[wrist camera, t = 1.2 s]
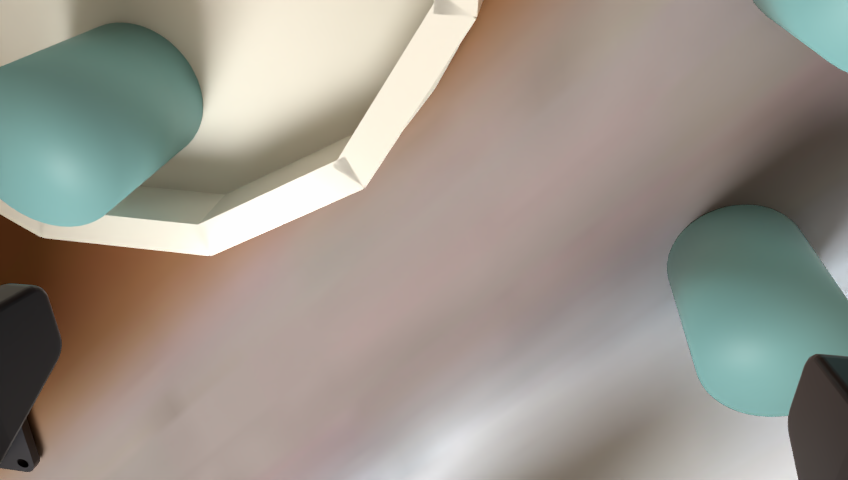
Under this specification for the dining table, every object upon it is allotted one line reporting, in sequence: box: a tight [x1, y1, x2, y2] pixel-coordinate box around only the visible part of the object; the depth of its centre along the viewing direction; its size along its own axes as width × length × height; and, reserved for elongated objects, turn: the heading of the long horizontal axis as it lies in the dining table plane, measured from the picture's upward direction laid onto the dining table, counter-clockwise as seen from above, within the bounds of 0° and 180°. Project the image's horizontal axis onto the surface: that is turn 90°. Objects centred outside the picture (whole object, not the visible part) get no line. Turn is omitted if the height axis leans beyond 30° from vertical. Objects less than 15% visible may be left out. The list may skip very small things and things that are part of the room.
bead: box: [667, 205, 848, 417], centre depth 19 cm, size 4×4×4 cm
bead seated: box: [0, 23, 203, 227], centre depth 18 cm, size 4×4×4 cm
